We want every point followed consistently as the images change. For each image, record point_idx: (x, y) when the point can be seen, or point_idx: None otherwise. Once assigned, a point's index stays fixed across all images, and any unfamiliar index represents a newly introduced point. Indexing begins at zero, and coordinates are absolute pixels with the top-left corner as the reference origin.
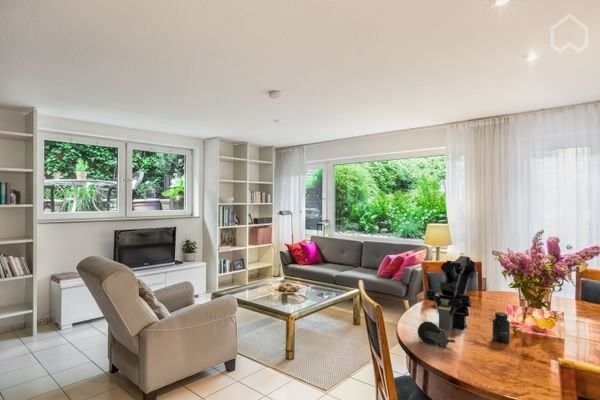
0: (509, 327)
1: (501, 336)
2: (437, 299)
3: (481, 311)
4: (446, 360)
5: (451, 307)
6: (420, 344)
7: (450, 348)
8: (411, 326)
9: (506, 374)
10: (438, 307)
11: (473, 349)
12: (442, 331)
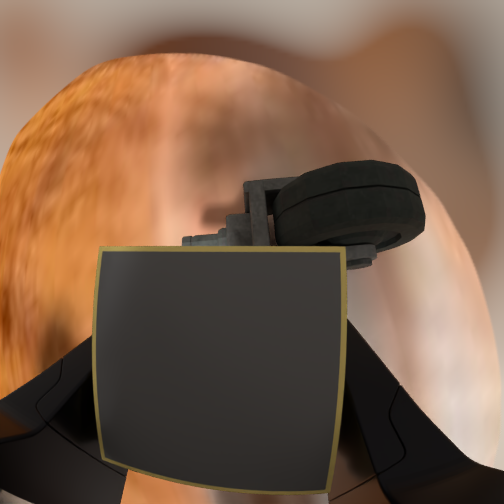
0: None
1: None
2: (464, 492)
3: None
4: (206, 107)
5: (90, 370)
6: None
7: (212, 228)
8: (469, 408)
9: (53, 147)
10: (337, 249)
11: None
12: (253, 230)
